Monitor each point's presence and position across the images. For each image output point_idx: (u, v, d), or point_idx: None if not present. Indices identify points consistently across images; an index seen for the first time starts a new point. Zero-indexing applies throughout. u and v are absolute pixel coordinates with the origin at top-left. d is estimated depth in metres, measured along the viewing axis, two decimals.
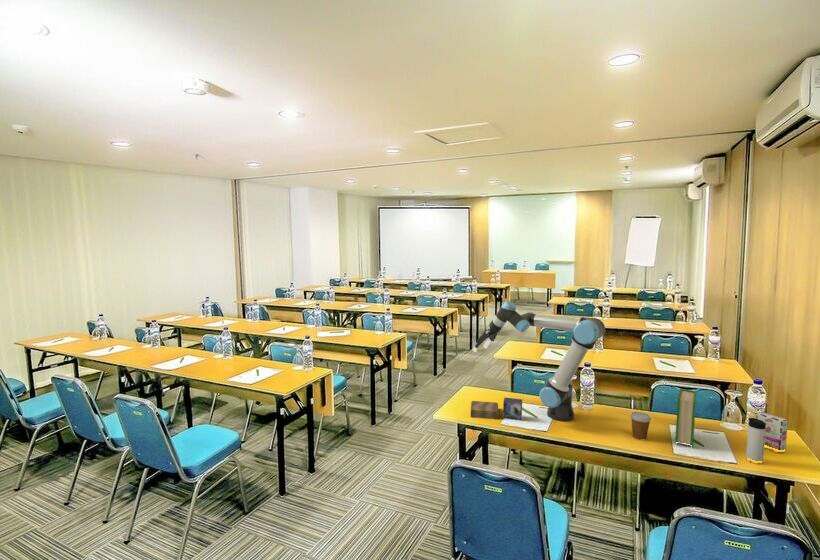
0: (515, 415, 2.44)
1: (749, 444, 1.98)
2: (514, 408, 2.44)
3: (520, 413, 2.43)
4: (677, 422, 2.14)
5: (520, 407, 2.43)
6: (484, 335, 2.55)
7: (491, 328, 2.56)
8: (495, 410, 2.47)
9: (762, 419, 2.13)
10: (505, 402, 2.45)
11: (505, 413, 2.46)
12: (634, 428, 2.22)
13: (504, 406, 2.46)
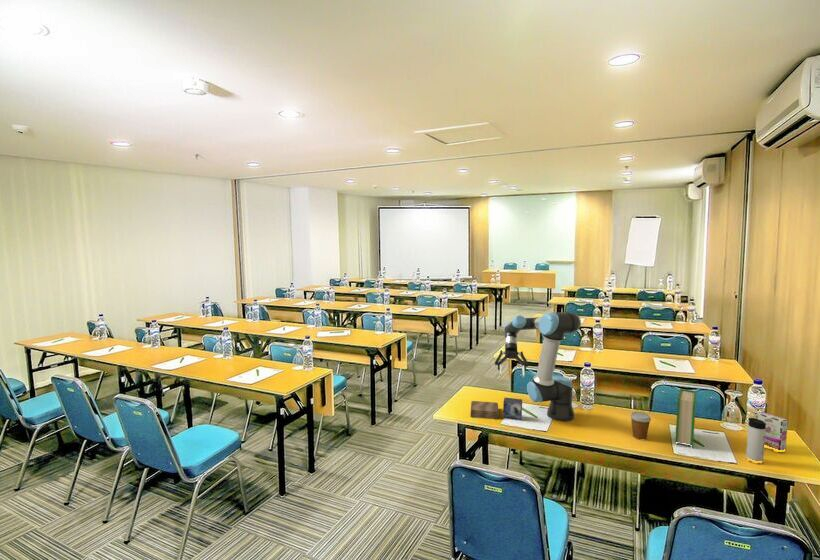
0: (515, 415, 2.44)
1: (749, 444, 1.98)
2: (514, 408, 2.44)
3: (520, 413, 2.43)
4: (677, 422, 2.14)
5: (520, 407, 2.43)
6: None
7: (505, 349, 2.68)
8: (495, 410, 2.47)
9: (762, 419, 2.13)
10: (505, 402, 2.45)
11: (505, 413, 2.46)
12: (634, 428, 2.22)
13: (504, 406, 2.46)
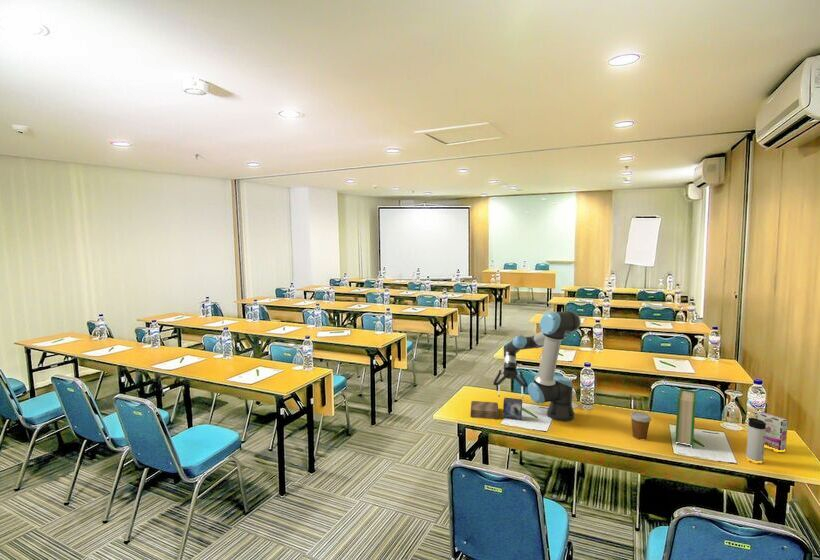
0: (515, 415, 2.44)
1: (749, 444, 1.98)
2: (514, 408, 2.44)
3: (520, 413, 2.43)
4: (677, 422, 2.14)
5: (520, 407, 2.43)
6: None
7: (504, 369, 2.65)
8: (495, 410, 2.47)
9: (762, 419, 2.13)
10: (505, 402, 2.45)
11: (505, 413, 2.46)
12: (634, 428, 2.22)
13: (504, 406, 2.46)
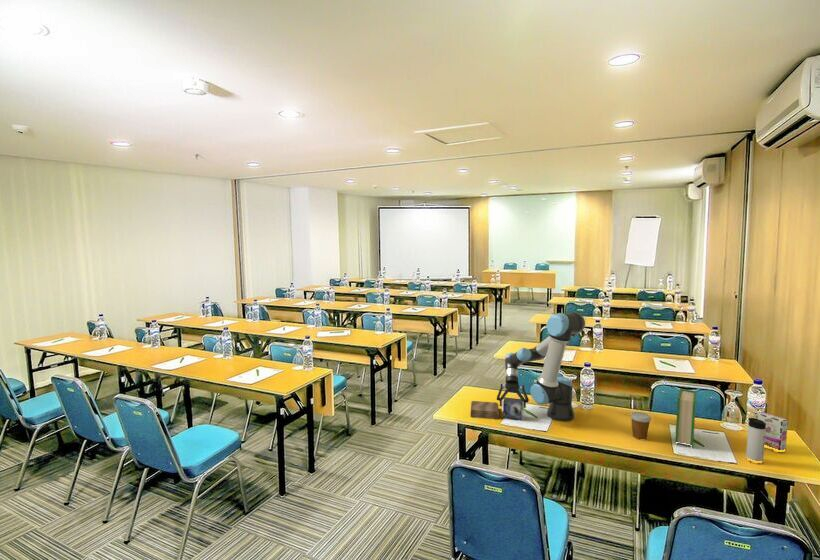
0: (515, 414, 2.44)
1: (749, 444, 1.98)
2: (514, 408, 2.44)
3: (520, 413, 2.43)
4: (677, 422, 2.14)
5: (520, 407, 2.43)
6: None
7: None
8: (495, 410, 2.47)
9: (762, 419, 2.13)
10: (505, 402, 2.45)
11: (505, 412, 2.46)
12: (634, 428, 2.22)
13: (504, 406, 2.46)
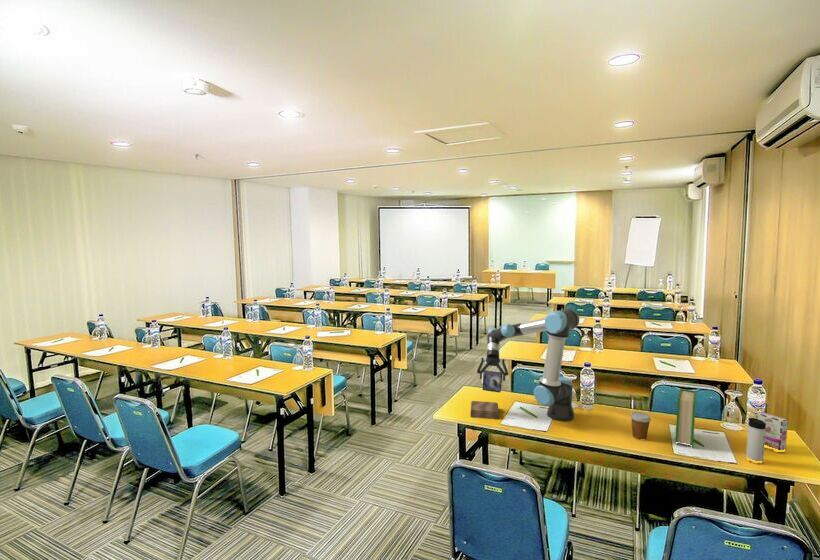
0: (494, 387, 2.49)
1: (749, 444, 1.98)
2: (493, 381, 2.49)
3: (499, 385, 2.48)
4: (677, 422, 2.14)
5: (499, 379, 2.48)
6: (480, 363, 2.59)
7: None
8: (495, 410, 2.47)
9: (762, 419, 2.13)
10: (485, 374, 2.50)
11: (484, 385, 2.50)
12: (634, 428, 2.22)
13: (484, 378, 2.50)
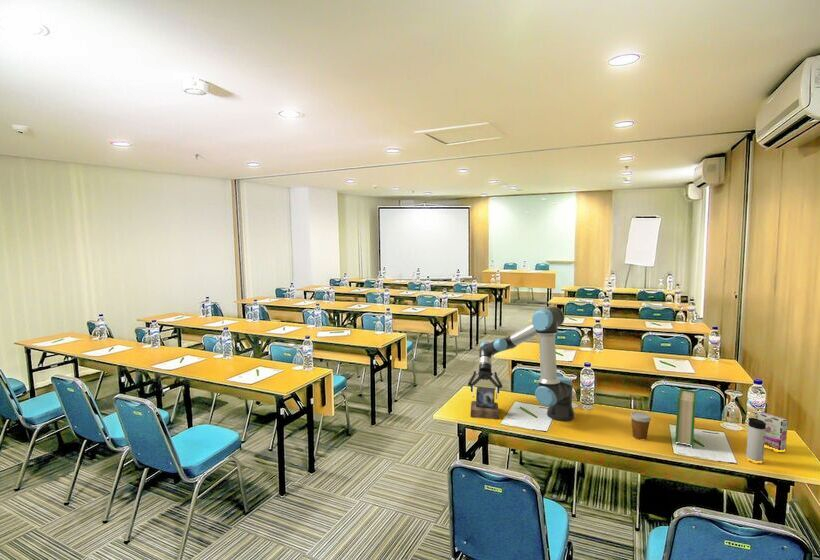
0: (487, 403, 2.50)
1: (749, 444, 1.98)
2: (486, 397, 2.50)
3: (492, 401, 2.50)
4: (677, 422, 2.14)
5: (492, 396, 2.49)
6: None
7: (479, 369, 2.63)
8: (495, 410, 2.47)
9: (762, 419, 2.13)
10: (478, 391, 2.51)
11: (478, 401, 2.52)
12: (634, 428, 2.22)
13: (477, 395, 2.52)
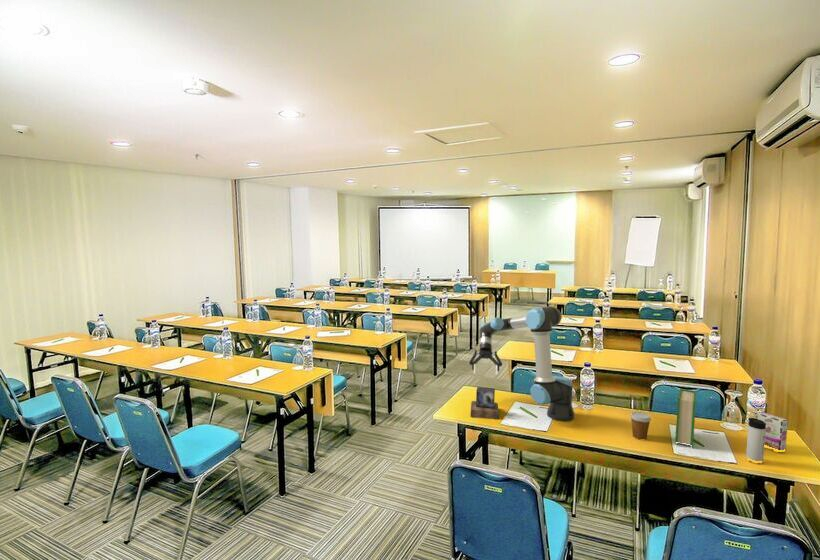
0: (487, 403, 2.50)
1: (749, 444, 1.98)
2: (486, 397, 2.50)
3: (492, 401, 2.50)
4: (677, 422, 2.14)
5: (492, 396, 2.49)
6: None
7: None
8: (495, 410, 2.47)
9: (762, 419, 2.13)
10: (478, 391, 2.51)
11: (478, 401, 2.52)
12: (634, 428, 2.22)
13: (477, 395, 2.52)
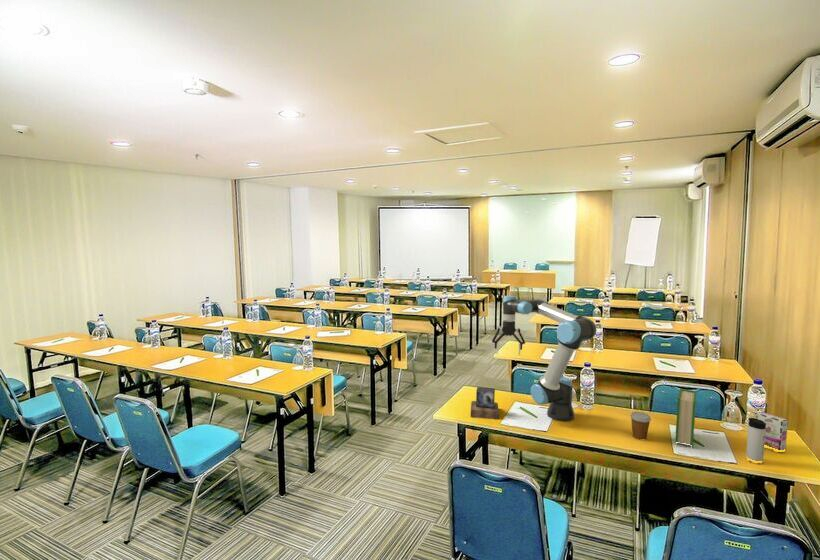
0: (487, 403, 2.50)
1: (749, 444, 1.98)
2: (486, 397, 2.50)
3: (492, 401, 2.50)
4: (677, 422, 2.14)
5: (492, 396, 2.49)
6: (496, 332, 2.67)
7: None
8: (495, 410, 2.47)
9: (762, 419, 2.13)
10: (478, 391, 2.51)
11: (478, 401, 2.52)
12: (634, 428, 2.22)
13: (477, 395, 2.52)
